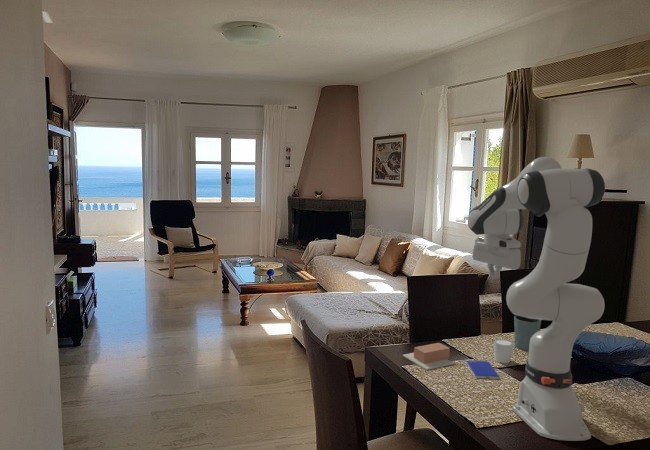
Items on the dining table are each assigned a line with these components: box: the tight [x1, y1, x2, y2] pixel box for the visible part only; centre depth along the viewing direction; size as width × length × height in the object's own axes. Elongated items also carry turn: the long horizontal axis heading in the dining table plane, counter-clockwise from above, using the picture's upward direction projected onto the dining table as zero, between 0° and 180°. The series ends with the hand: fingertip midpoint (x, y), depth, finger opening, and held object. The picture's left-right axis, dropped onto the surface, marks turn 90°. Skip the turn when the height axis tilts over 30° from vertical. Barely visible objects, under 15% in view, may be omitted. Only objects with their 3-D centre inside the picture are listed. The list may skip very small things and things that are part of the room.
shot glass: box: [493, 339, 515, 364], centre depth 178 cm, size 7×7×7 cm
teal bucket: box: [513, 315, 542, 352], centre depth 192 cm, size 10×10×12 cm
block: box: [413, 342, 451, 364], centre depth 177 cm, size 6×4×12 cm
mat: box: [402, 352, 456, 371], centre depth 177 cm, size 14×13×1 cm
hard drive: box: [465, 360, 500, 380], centre depth 168 cm, size 2×8×12 cm
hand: (494, 276), depth 179 cm, fingers closed
